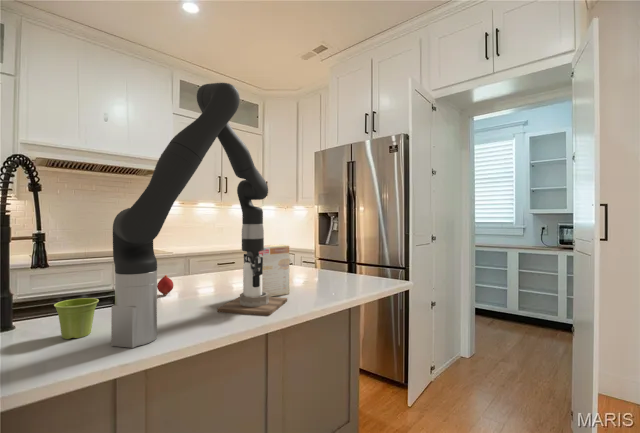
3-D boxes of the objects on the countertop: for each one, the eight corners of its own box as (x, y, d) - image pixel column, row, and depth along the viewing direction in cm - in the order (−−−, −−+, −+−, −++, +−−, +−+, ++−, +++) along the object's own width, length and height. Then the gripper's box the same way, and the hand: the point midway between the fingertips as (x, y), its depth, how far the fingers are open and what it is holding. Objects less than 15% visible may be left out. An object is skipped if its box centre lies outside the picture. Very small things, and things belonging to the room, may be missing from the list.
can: (257, 292, 120) (257, 259, 120) (265, 296, 115) (265, 261, 114) (240, 295, 116) (240, 261, 116) (247, 299, 111) (247, 263, 111)
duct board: (269, 315, 104) (269, 302, 104) (217, 312, 108) (217, 299, 108) (287, 301, 122) (287, 289, 122) (241, 298, 125) (241, 287, 125)
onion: (153, 296, 129) (153, 275, 129) (164, 293, 135) (164, 273, 135) (166, 297, 127) (166, 276, 127) (176, 294, 133) (176, 274, 133)
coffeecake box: (281, 290, 139) (281, 244, 139) (290, 294, 133) (290, 245, 133) (247, 295, 130) (247, 246, 130) (255, 299, 124) (255, 247, 124)
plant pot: (83, 327, 93) (83, 296, 93) (106, 331, 89) (106, 299, 89) (45, 339, 84) (45, 304, 84) (69, 344, 81) (69, 308, 81)
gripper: (270, 237, 111) (270, 287, 111) (256, 235, 123) (256, 280, 123) (248, 238, 107) (248, 290, 107) (236, 236, 120) (236, 282, 120)
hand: (252, 285), depth 115 cm, fingers closed on can, 6 cm apart
